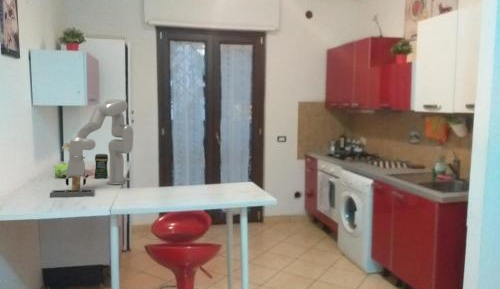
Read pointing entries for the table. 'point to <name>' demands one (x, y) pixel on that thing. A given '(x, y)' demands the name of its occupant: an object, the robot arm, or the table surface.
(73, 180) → the oak peg
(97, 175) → the coffee jar
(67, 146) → the flower vase
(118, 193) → the table surface
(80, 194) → the dark grey divided tray
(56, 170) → the green lumpy round mass
